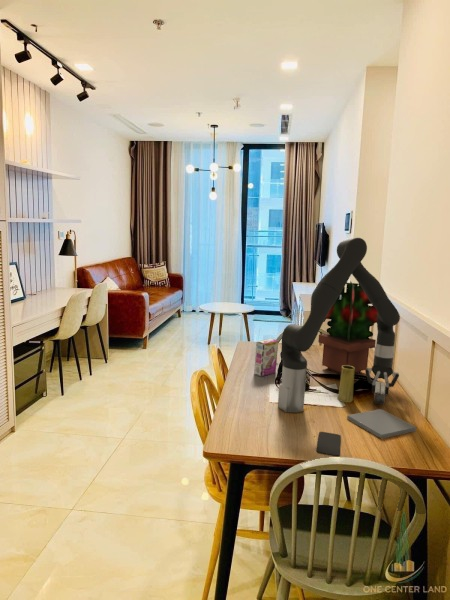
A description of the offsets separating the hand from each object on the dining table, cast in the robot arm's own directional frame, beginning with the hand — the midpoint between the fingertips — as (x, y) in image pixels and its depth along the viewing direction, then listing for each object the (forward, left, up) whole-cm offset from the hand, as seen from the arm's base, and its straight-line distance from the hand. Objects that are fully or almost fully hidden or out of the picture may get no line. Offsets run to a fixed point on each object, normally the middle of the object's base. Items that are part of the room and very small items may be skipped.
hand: (379, 393), depth 187 cm
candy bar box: (-29, +45, -3) cm, 54 cm away
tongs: (0, 0, -1) cm, 1 cm away
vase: (-14, +5, -3) cm, 15 cm away
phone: (-46, -24, -3) cm, 52 cm away
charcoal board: (-18, -19, -3) cm, 26 cm away
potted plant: (+12, +36, -3) cm, 38 cm away
